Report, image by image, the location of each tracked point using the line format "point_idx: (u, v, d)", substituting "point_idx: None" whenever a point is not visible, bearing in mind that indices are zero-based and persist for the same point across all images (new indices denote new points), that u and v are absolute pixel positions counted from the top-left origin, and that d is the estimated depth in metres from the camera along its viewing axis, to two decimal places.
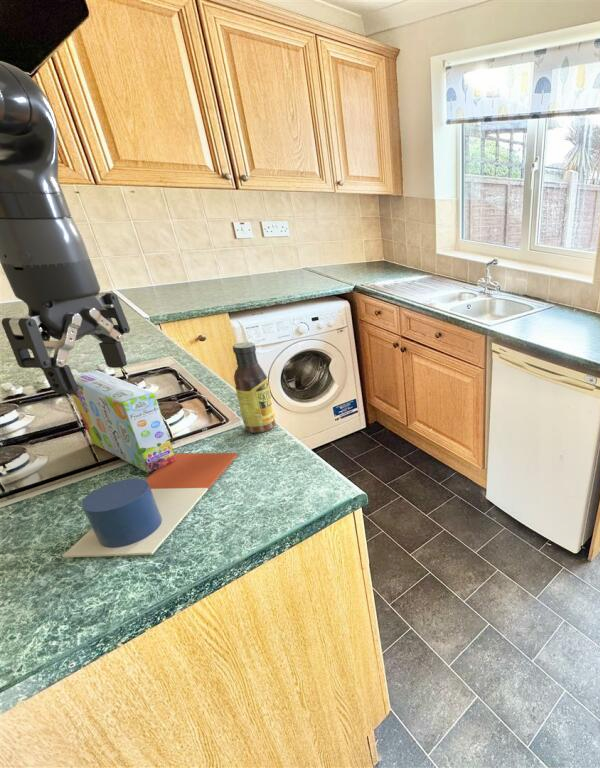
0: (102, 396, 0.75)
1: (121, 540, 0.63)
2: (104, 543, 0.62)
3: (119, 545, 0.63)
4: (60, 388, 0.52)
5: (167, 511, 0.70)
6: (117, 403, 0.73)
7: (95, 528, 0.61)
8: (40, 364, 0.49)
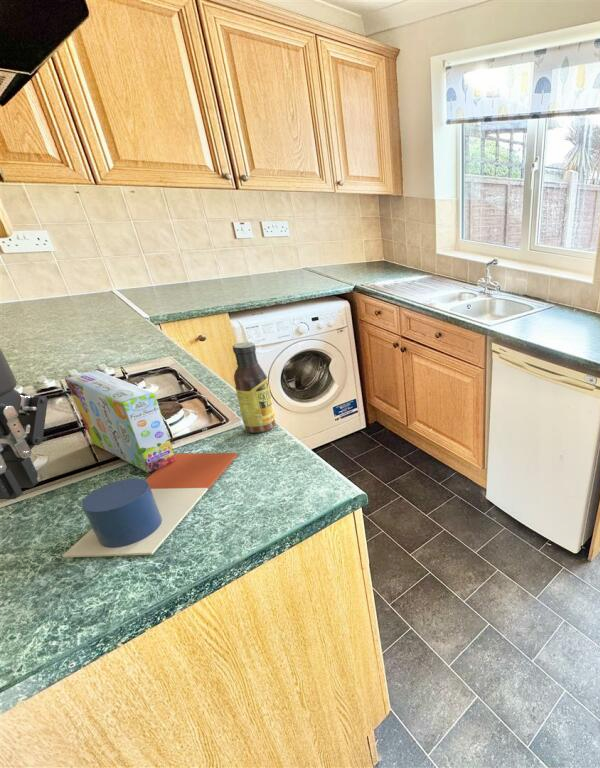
0: (102, 396, 0.75)
1: (121, 540, 0.63)
2: (104, 543, 0.62)
3: (119, 545, 0.63)
4: (0, 495, 0.47)
5: (167, 511, 0.70)
6: (117, 403, 0.73)
7: (95, 528, 0.61)
8: None
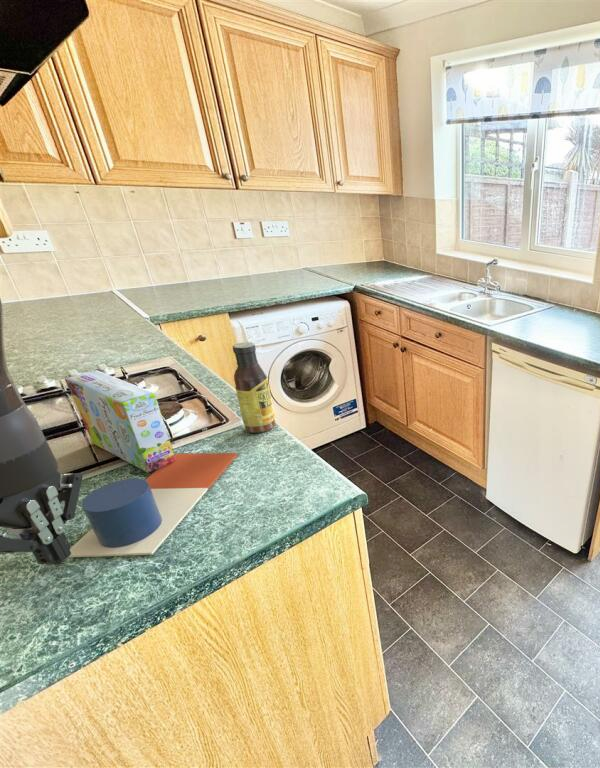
0: (102, 396, 0.75)
1: (121, 540, 0.63)
2: (104, 543, 0.62)
3: (119, 545, 0.63)
4: (48, 562, 0.52)
5: (167, 511, 0.70)
6: (117, 403, 0.73)
7: (95, 528, 0.61)
8: (29, 551, 0.49)
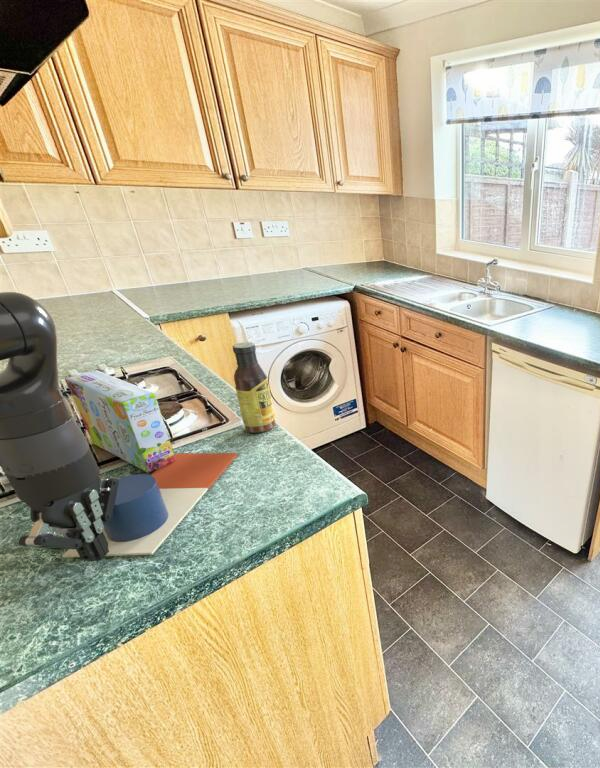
0: (102, 396, 0.75)
1: (129, 534, 0.64)
2: (112, 537, 0.63)
3: (127, 539, 0.64)
4: (89, 558, 0.58)
5: None
6: (117, 403, 0.73)
7: None
8: None
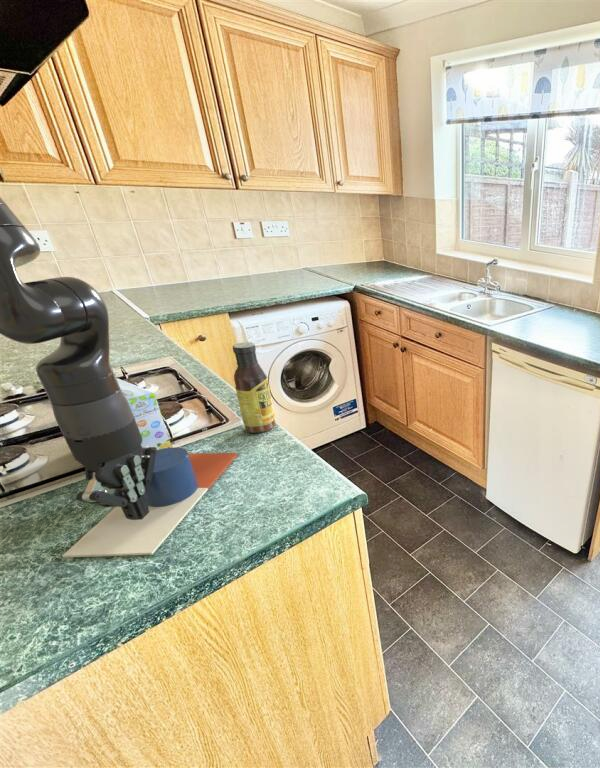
0: None
1: (166, 500, 0.71)
2: (151, 503, 0.70)
3: (164, 504, 0.71)
4: (133, 517, 0.65)
5: (167, 511, 0.70)
6: None
7: None
8: (121, 506, 0.62)
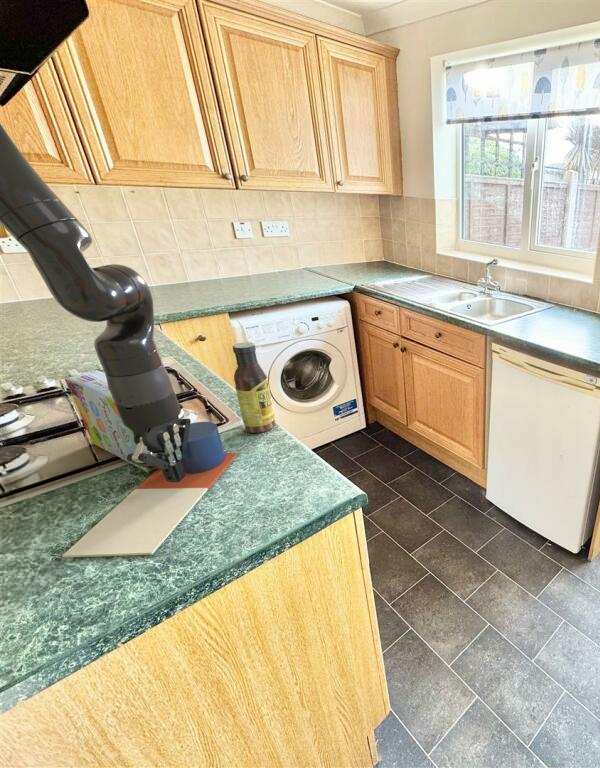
0: (102, 396, 0.75)
1: (199, 467, 0.79)
2: (185, 470, 0.79)
3: (197, 471, 0.79)
4: (172, 479, 0.73)
5: (167, 511, 0.70)
6: None
7: None
8: (163, 468, 0.70)
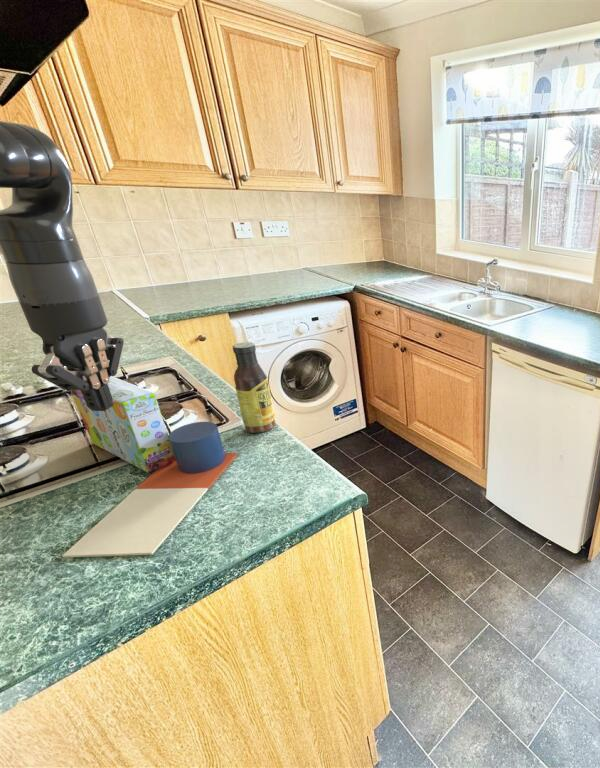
0: None
1: (199, 467, 0.79)
2: (185, 470, 0.79)
3: (197, 471, 0.79)
4: (95, 406, 0.61)
5: (167, 511, 0.70)
6: (117, 403, 0.73)
7: (179, 456, 0.77)
8: (82, 389, 0.58)
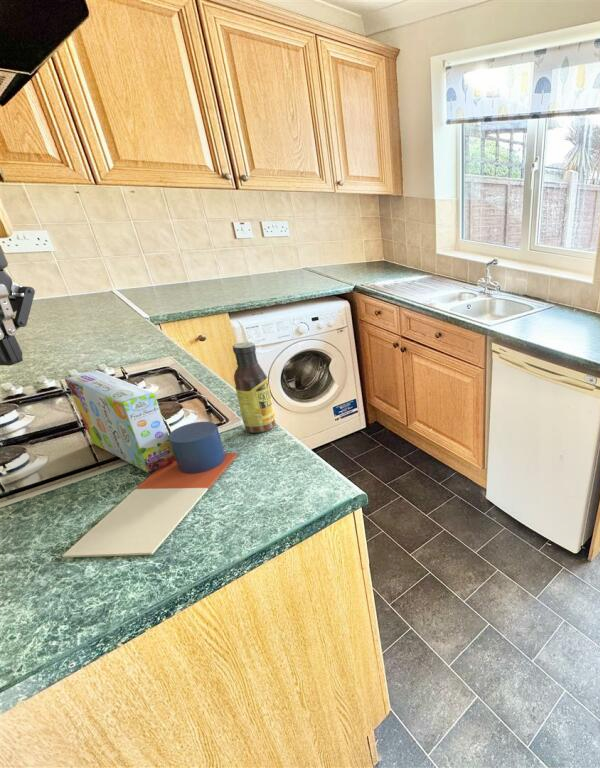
0: (102, 396, 0.75)
1: (199, 467, 0.79)
2: (185, 470, 0.79)
3: (197, 471, 0.79)
4: None
5: (167, 511, 0.70)
6: (117, 403, 0.73)
7: (179, 456, 0.77)
8: None
